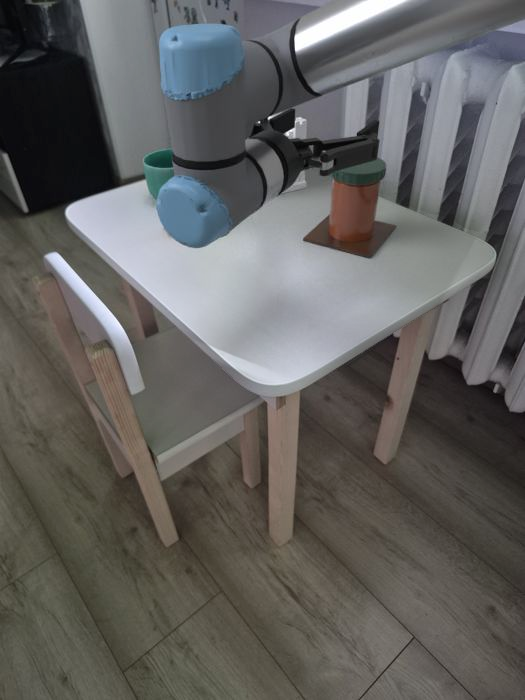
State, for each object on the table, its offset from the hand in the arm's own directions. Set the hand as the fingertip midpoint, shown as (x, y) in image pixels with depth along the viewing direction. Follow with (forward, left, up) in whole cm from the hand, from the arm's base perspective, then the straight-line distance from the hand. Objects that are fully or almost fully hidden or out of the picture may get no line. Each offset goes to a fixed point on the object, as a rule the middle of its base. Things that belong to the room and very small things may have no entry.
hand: (332, 123), depth 72 cm
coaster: (0, -13, -24) cm, 27 cm away
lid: (0, -13, -10) cm, 16 cm away
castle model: (+28, -27, -24) cm, 46 cm away
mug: (+40, -11, -24) cm, 48 cm away
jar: (0, -13, -23) cm, 27 cm away
